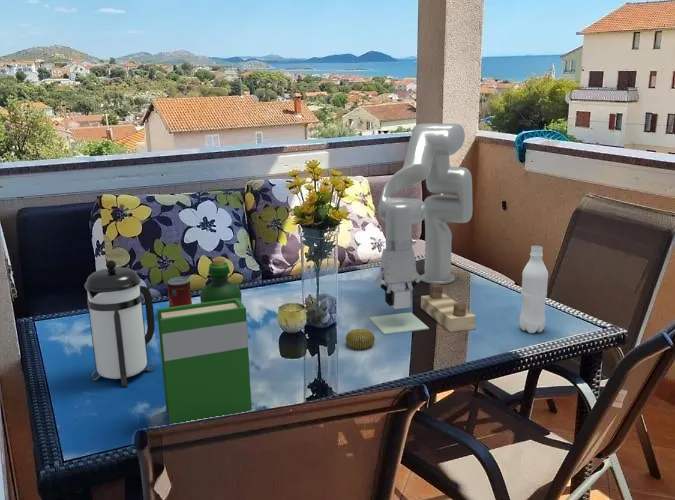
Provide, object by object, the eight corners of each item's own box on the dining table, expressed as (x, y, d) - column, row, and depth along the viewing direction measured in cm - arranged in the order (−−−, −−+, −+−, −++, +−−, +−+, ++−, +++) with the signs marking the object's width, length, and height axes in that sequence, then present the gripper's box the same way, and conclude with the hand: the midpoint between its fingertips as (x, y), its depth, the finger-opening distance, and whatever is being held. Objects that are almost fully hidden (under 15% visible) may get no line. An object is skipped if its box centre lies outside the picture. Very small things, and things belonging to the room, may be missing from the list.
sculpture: (341, 329, 175) (367, 325, 177) (341, 342, 176) (367, 338, 178) (351, 339, 167) (379, 334, 170) (352, 353, 168) (379, 348, 171)
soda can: (168, 313, 201) (165, 277, 198) (190, 310, 203) (188, 274, 200) (171, 321, 194) (168, 283, 191) (194, 317, 197) (191, 280, 194)
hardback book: (170, 426, 133) (160, 320, 127) (166, 410, 139) (156, 309, 133) (251, 409, 139) (245, 307, 133) (243, 395, 145) (238, 297, 140)
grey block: (386, 301, 190) (386, 286, 188) (401, 300, 191) (402, 284, 190) (394, 308, 183) (394, 292, 182) (410, 307, 184) (410, 291, 183)
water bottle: (547, 334, 178) (553, 249, 172) (522, 334, 178) (527, 250, 172) (540, 325, 185) (545, 243, 179) (516, 325, 185) (520, 244, 179)
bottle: (226, 374, 157) (219, 266, 150) (195, 365, 162) (187, 261, 155) (254, 358, 166) (248, 256, 159) (223, 350, 171) (217, 252, 164)
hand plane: (420, 307, 202) (421, 284, 200) (443, 305, 204) (444, 281, 202) (450, 331, 181) (451, 305, 179) (475, 328, 183) (476, 303, 181)
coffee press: (158, 382, 153) (147, 265, 145) (89, 392, 148) (73, 271, 141) (157, 355, 169) (147, 248, 161) (94, 363, 164) (81, 253, 157)
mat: (368, 318, 193) (368, 317, 193) (411, 313, 197) (411, 312, 197) (384, 334, 180) (384, 333, 180) (428, 329, 184) (428, 327, 184)
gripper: (420, 239, 188) (419, 297, 193) (367, 244, 184) (367, 302, 188) (430, 245, 181) (429, 304, 186) (375, 250, 177) (375, 310, 181)
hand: (398, 303), depth 187 cm, fingers closed on grey block, 5 cm apart
